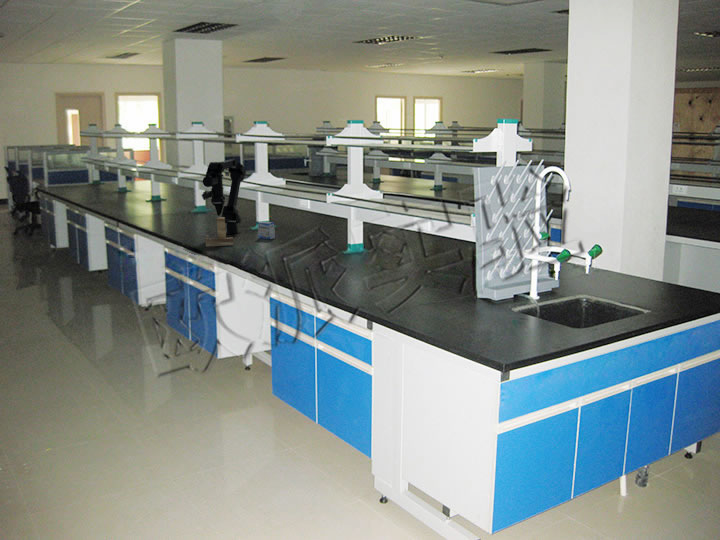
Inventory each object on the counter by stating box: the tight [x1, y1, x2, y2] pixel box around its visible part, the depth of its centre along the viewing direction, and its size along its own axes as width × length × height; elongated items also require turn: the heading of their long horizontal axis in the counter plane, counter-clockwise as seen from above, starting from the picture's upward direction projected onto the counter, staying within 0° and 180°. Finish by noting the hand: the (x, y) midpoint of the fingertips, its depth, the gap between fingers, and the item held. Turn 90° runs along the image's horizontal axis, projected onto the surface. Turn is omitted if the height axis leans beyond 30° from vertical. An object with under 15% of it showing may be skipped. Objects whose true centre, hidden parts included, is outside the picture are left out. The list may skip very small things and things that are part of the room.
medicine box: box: [257, 221, 276, 240], centre depth 372 cm, size 8×4×9 cm, turn 62°
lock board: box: [204, 234, 235, 248], centre depth 361 cm, size 14×14×4 cm
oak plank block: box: [216, 216, 227, 239], centre depth 359 cm, size 4×4×12 cm
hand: (219, 214), depth 373 cm, fingers open, 9 cm apart
